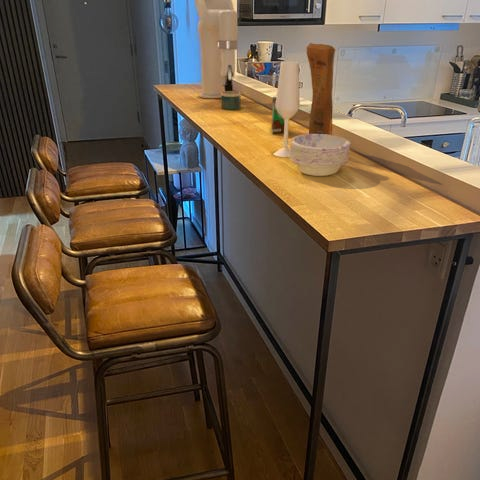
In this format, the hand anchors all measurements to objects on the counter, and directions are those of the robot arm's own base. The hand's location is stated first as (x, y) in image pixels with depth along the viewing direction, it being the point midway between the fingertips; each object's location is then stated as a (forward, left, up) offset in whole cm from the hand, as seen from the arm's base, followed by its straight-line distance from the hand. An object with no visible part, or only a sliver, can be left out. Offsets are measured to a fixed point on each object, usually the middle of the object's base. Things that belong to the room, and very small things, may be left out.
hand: (228, 94), depth 212 cm
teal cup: (+8, 0, -4) cm, 9 cm away
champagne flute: (+83, +7, -4) cm, 83 cm away
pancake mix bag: (+78, +18, -4) cm, 80 cm away
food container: (+53, +12, -4) cm, 55 cm away
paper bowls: (+101, +12, -4) cm, 102 cm away
